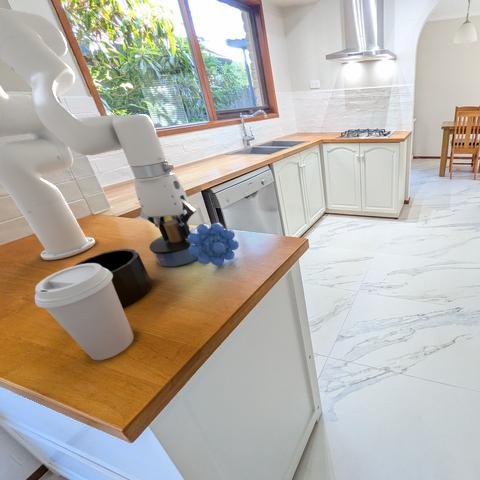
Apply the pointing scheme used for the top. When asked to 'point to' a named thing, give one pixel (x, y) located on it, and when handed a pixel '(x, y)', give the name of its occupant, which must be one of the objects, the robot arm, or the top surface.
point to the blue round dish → (175, 258)
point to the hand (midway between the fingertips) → (177, 237)
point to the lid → (171, 240)
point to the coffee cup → (87, 309)
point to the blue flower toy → (212, 244)
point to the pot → (124, 274)
